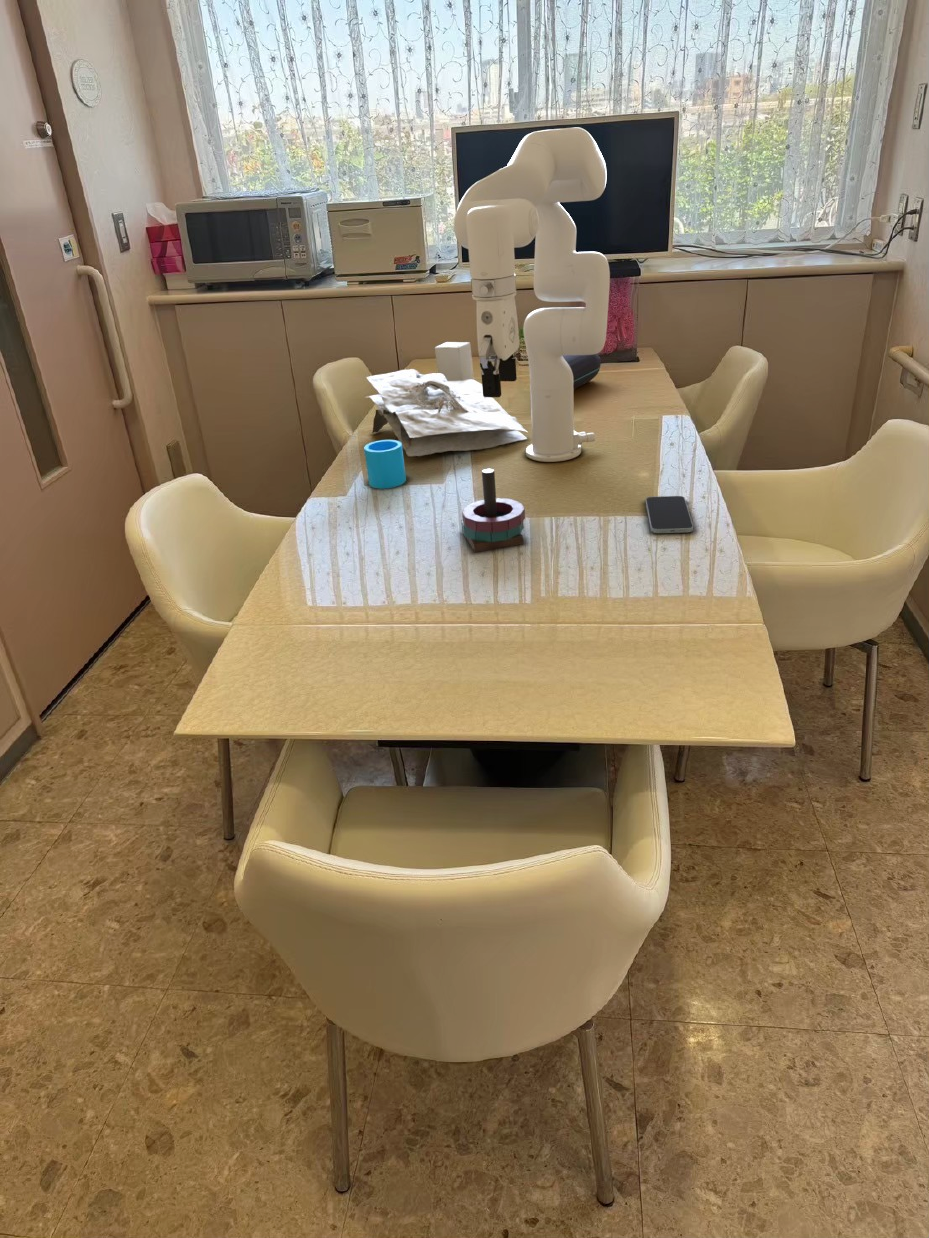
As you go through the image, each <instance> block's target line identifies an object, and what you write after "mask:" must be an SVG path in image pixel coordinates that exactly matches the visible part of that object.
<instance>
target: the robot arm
mask: <svg viewBox="0 0 929 1238" xmlns="http://www.w3.org/2000/svg"><path fill="white" fill-rule="evenodd" d="M606 165H607V164H606V161H605V158H604V157H603V155H602V152H601V151H600V148H599V146H598V144H597V142H596V141H595V139H594V138H593V136H592V135H591V134H590V133H589V131H587V130H586V129H584V128H582V127H566V128H554V129H543V130H542V129H541V130H537V131H533V132H531V133H528V134H526V135H525V136H524V137H523V138H522V140H520V142H519V144H518V146H517V148H516V149H515V151H514V153H513V155H512V157H511V159H510V160H509V162H508V163H507V166H504V167H503V168H502V167H501V168H499V169H498V170H496V171H495V172H493V173H490V174H489V175H487V176H486V177H484V178H482V179H480V180H478V181H476V182H475V183H474V184H472V185H471V186H470V187H469V188H468V189H467V190H466V191H465V193H464V195H463V196H462V198H461V200H460V201H459V203H458V205H457V208H456V211H455V214H454V218H453V219H454V220H453V231H454V235H455V239H456V241H457V242H458V244H459V245H460V246H461V247H463V248H464V249H467V250H468V261H469V262H468V263H469V274H470V275H469V276H470V286H471V298H472V300H473V301H476V340H477V351H478V358H479V362H480V363H479V367H480V375H481V384H482V388H483V396H484V397H493V398H501V396H502V382H516V381H517V361H516V355H517V354H516V351H518V349H519V348H520V345H521V344H520V343H521V342H520V332H519V321H518V320H519V319H518V314H517V313H518V312H517V304H516V298H515V297H517V279H516V277H517V276H516V261H515V260H516V257H515V248H516V249H517V248H524V247H526V246H528V245H529V244H531V243H532V241H533V240H534V239H535V241H534V243H535V244H534V261H533V291H534V295H535V296H536V298H537V299H538V300H540V301H543V302H549V303H550V302H551V303H552V302H553V303H565V302H569V303H570V302H583V303H585V306H579V307H578V306H577V307H576V306H575V307H565V306H564V307H542V308H538V309H535V310H533V311H531V312H530V313H529V314H528V315H527V316H526V317H525V319H524V322H523V327H522V333H523V339H524V343H525V349H526V355H527V362H528V373H529V374H528V375H529V397H530V418H531V419H530V420H531V422H530V423H531V444H530V445H528V446H527V447H526V448H525V455H526V457H527V458H529V459H530V460H533V461H535V462H536V461H537V462H545V463H557V462H564V461H568V460H572V459H574V458H576V457H578V456H579V455H580V454H581V453H582V446H581V445H582V444H583V443H590V442H595V441H596V435H595V433H594V432H588V433H586V431H581V432H580V431H579V432H577V431H575V410H574V409H575V408H574V406H575V404H574V403H575V402H574V400H575V399H574V389H573V373H572V370H571V368H570V366H569V365H568V363H567V362H566V360H565V359H564V358H563V356H564V355H593V354H599V353H601V352H602V351H603V349H604V347H605V345H606V341H607V331H608V315H609V302H610V301H609V300H610V285H611V271H610V265H609V262H608V259H607V257H606V256H605V255H604V254H603V253H601V252H598V251H578V252H577V251H576V250H577V249H576V248H577V226H576V223H575V221H574V220H573V218H572V217H571V216H570V213H568V212H567V211H566V209H565V208H564V207H563V206H562V205H561V203H574V202H588V201H595V200H597V199H598V198H600V197H601V196H602V194H603V193H604V191H605V188H606V184H607V175H608V174H607V166H606Z"/></svg>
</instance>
